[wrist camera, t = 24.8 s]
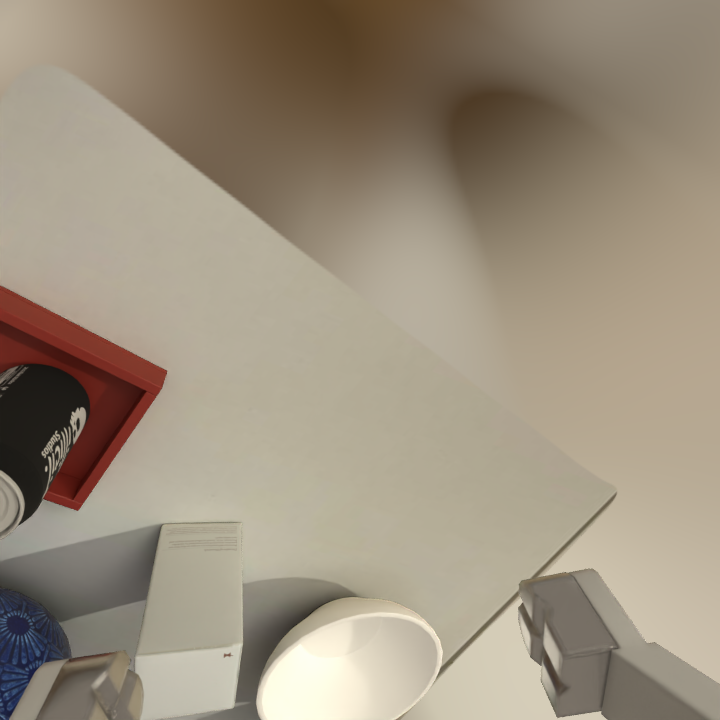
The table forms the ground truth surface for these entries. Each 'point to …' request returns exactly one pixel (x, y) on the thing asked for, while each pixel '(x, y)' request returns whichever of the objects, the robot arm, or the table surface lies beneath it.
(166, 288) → the table surface
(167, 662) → the white packaging box
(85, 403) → the beverage can
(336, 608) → the bowl
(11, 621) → the planter
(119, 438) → the tray
